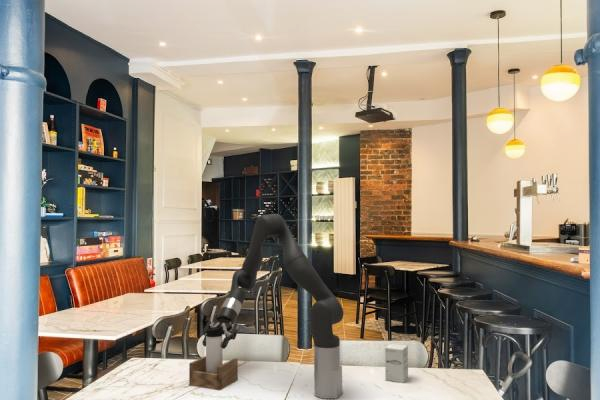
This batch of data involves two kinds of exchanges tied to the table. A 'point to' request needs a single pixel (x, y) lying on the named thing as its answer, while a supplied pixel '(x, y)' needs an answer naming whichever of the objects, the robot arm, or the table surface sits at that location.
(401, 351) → the supplement box
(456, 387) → the table surface
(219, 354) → the travel mug
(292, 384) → the table surface
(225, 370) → the cradle
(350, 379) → the table surface
